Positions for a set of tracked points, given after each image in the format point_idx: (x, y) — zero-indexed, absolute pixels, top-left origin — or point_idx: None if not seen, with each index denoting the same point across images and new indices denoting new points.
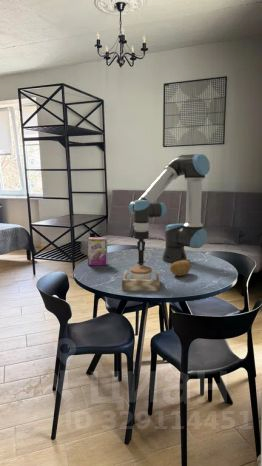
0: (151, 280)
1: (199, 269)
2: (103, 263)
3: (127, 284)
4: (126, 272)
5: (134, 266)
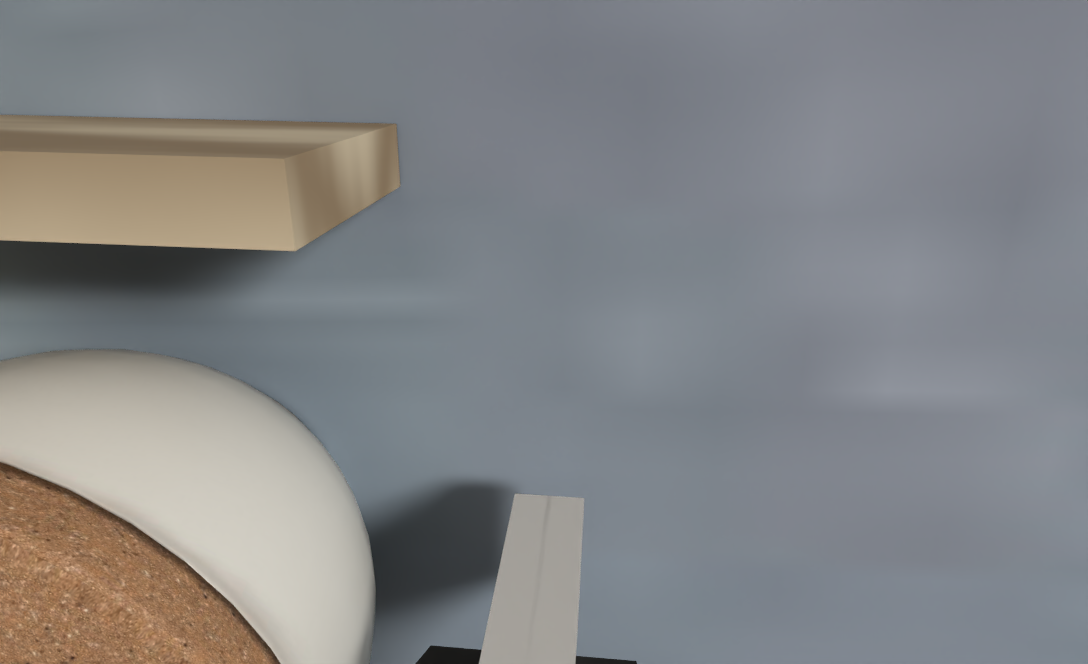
0: None
1: None
2: None
3: None
4: (141, 242)
5: (124, 637)
